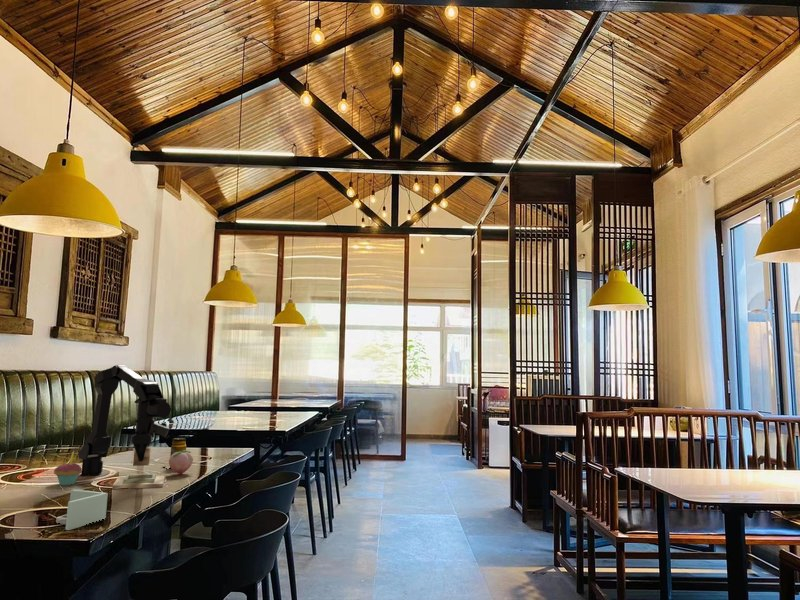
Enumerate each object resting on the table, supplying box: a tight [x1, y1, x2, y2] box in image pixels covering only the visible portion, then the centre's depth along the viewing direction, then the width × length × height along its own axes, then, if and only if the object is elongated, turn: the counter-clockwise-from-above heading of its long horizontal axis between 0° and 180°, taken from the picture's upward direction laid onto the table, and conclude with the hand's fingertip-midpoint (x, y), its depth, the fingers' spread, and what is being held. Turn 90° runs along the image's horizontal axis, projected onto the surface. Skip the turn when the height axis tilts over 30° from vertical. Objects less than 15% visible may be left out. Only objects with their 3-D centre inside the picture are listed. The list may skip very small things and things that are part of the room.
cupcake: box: [53, 449, 82, 486], centre depth 199 cm, size 9×8×12 cm
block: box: [132, 445, 152, 467], centre depth 203 cm, size 5×5×6 cm
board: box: [111, 473, 166, 490], centre depth 202 cm, size 16×16×2 cm
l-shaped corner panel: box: [55, 489, 109, 531], centre depth 150 cm, size 12×12×8 cm
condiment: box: [162, 437, 187, 468], centre depth 237 cm, size 7×8×12 cm
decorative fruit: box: [168, 449, 194, 475], centre depth 221 cm, size 9×8×10 cm
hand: (141, 460), depth 203 cm, fingers closed on block, 5 cm apart
